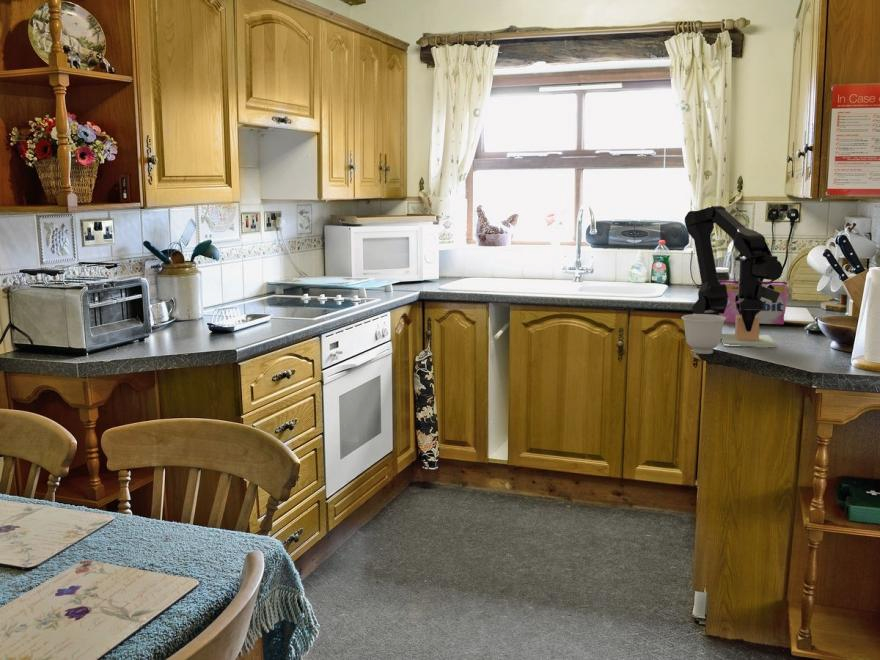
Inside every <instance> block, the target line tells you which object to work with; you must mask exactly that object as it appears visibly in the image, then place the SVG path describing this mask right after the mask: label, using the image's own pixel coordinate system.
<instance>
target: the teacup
mask: <svg viewBox="0 0 880 660" xmlns="http://www.w3.org/2000/svg"><path fill="white" fill-rule="evenodd" d="M680 318H681V319H682V321H683V324H684V325H683V326H684V333H685V341H686V343H687V345H688V346H689V347H691V348H692V349H691V352H692V353H693V354H699V355H710V354H713V353H714V349H715V348H716V347H718V346H719V345H720V343H721V334H723V333H722V331H723V328H724V327H723V326H724V323H725V322H724V321H725V320H726V318H725V317H724V316H719V315H711V314H693V313H692V314H691V313H690V314H685V315H682V316H681V317H680Z"/></svg>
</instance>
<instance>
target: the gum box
mask: <svg viewBox="0 0 880 660" xmlns="http://www.w3.org/2000/svg"><path fill="white" fill-rule="evenodd" d="M760 281H761V280H760ZM719 282H720V284H721V285H726V287H727V294H728V296H729V297H727V298H728V303H727V306H726V309H725V312H724V314H719V316H724V317H725V318H726V320H725V321H724V323H729V324H730V323H732V324H734V323H735V318H736V315H739V312H738V309H737V307H736V304H735V303H738V301H737V302H735V301H734V296H735V294H736V293H737V292H739V283H738V280H730V281H719ZM761 282H762V286H765V287H766V286H767V285H768V284H770V285H773V286H774V290H777V291H779V292H780V295H779V298H778V300H777V302H776V303H775V302H772V301H771V300H768V299H766V298H763V297H761V299H760V300H761V301H762V302H763V303H764V308H763V310H761V311H760V312H759V313H757V314H756V315H757V316H758V317H759V325H760V324H763V325H784V324H785V314H786V313H785V312H786V308H787V307H786V306H787V298H788V297H789V292H790V289H789V284H788V283H787V282H786V281H764V280H763V281H761Z"/></svg>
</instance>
